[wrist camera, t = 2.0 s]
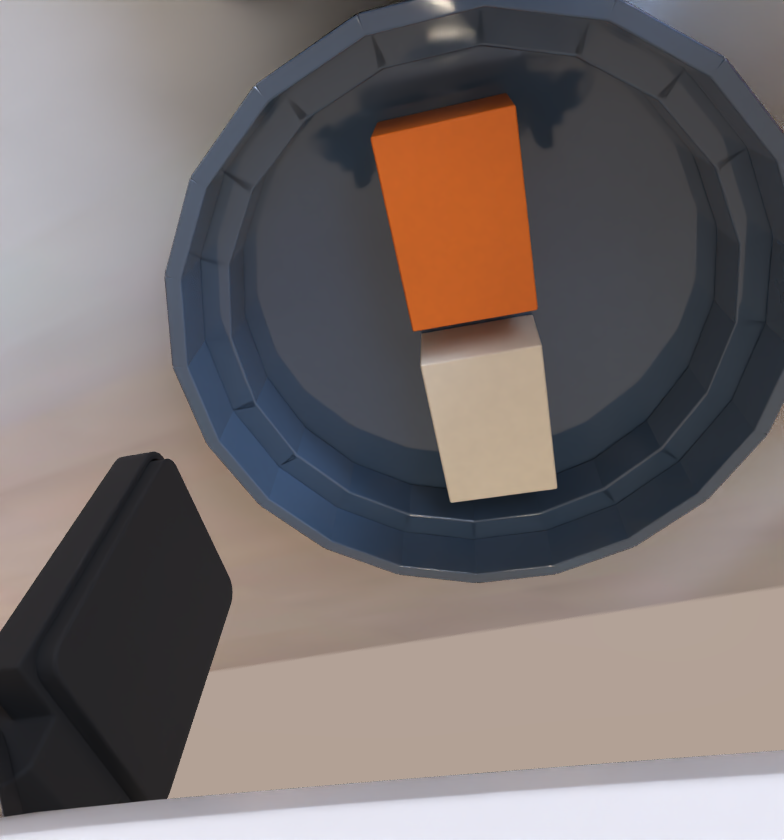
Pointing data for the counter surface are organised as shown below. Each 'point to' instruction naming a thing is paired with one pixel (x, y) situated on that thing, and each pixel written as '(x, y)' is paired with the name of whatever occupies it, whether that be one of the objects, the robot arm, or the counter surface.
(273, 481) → the bowl
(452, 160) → the orange rectangular block
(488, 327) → the cream rectangular block
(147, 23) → the counter surface
